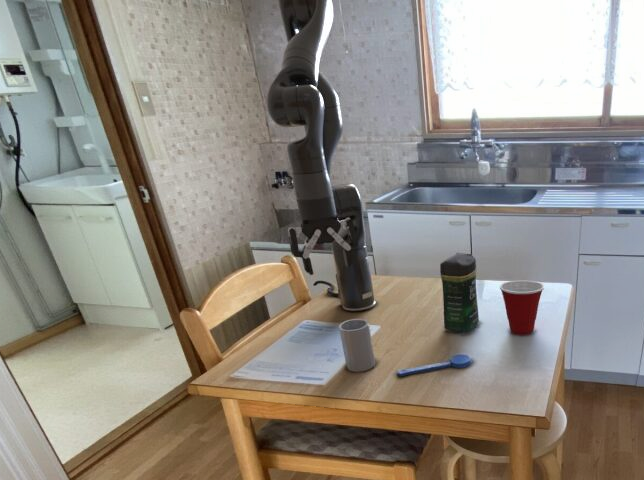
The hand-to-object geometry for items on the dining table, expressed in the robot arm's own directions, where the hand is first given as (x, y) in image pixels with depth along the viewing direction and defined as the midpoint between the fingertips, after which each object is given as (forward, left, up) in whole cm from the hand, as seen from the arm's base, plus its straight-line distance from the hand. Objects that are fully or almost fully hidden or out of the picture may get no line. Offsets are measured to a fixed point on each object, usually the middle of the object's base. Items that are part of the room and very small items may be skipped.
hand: (329, 270), depth 116 cm
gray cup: (+11, -3, -19) cm, 22 cm away
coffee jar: (+16, +26, -20) cm, 36 cm away
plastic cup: (+30, +33, -20) cm, 48 cm away
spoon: (+26, +6, -19) cm, 33 cm away
